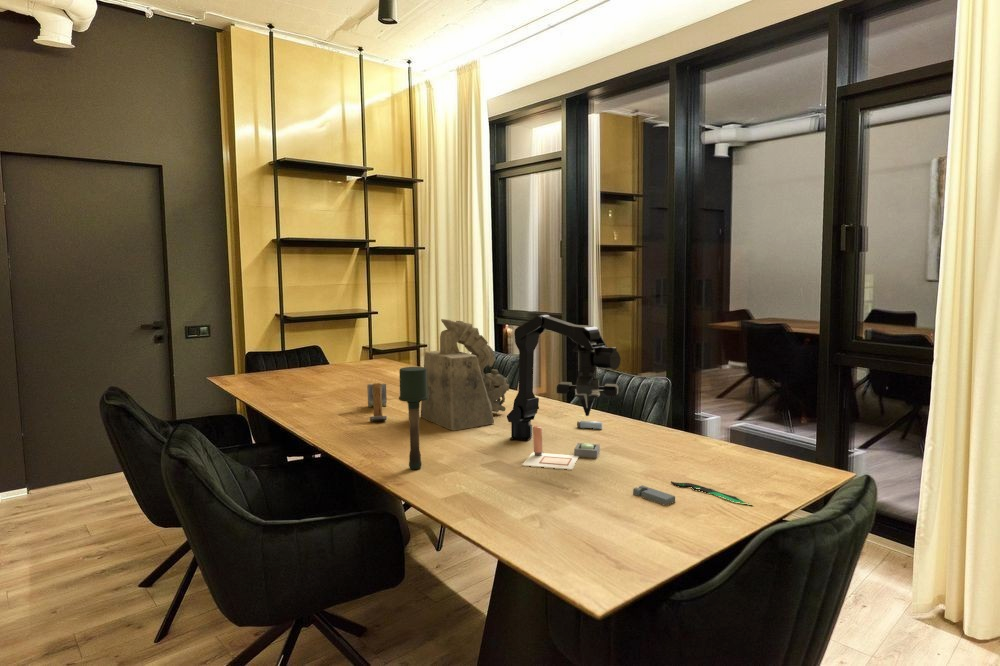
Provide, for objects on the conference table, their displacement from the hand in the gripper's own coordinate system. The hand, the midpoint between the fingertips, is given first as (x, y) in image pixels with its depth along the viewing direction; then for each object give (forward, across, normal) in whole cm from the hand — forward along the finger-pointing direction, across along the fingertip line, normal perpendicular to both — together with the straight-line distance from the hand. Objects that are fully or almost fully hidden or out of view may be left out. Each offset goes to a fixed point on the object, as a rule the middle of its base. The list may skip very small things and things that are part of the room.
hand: (587, 415), depth 192 cm
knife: (+13, +36, -26) cm, 46 cm away
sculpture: (+13, -51, +37) cm, 64 cm away
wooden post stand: (+13, -92, +34) cm, 99 cm away
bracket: (+13, +22, -33) cm, 42 cm away
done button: (+12, 0, 0) cm, 12 cm away
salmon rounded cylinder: (+12, -14, -6) cm, 20 cm away
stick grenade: (+13, -47, -27) cm, 56 cm away
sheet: (+12, -10, -10) cm, 19 cm away
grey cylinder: (+12, -4, +32) cm, 34 cm away
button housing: (+12, 0, 0) cm, 12 cm away
